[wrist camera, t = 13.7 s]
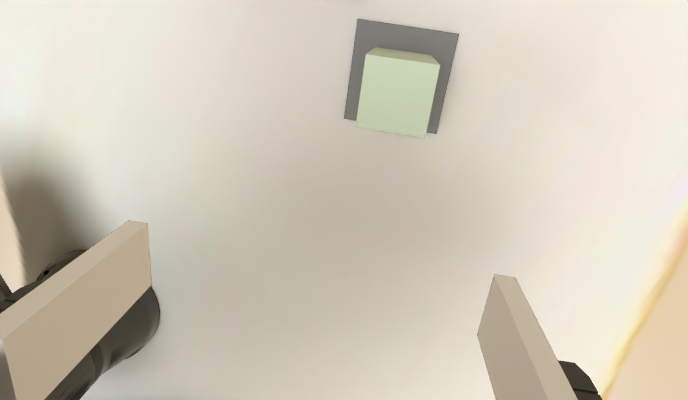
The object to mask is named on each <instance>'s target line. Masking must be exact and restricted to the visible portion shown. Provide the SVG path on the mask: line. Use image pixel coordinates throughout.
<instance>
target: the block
mask: <svg viewBox="0 0 688 400" xmlns="http://www.w3.org/2000/svg"><path fill="white" fill-rule="evenodd" d="M439 69H440V64H439V63H438V62H437V61H436V60H435V59H434V58H433V57H432V56H431V55H429V54H422V53H415V52H408V51H401V50H394V49H387V48H381V47H375V48H373V49H372V50H371V51H369V52H368V53H367V54H366V57H365V64H364V71H363V78H362V85H361V92H360V99H359V106H358V113H357V120H356V127H357V128H364V129H370V130H376V131H383V132H389V133H396V134H402V135H408V136H415V137H421V138H425V137H426V132H427V127H428V122H429V117H430V112H431V108H432V103H433V98H434V93H435V88H436V84H437V79H438V74H439Z"/></svg>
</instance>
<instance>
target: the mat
mask: <svg viewBox="0 0 688 400" xmlns="http://www.w3.org/2000/svg"><path fill="white" fill-rule="evenodd" d="M458 36H459V34H455V33H448V32H441V31H435V30H428V29H421V28H415V27H408V26H401V25H395V24H388V23H381V22H375V21H368V20H361V19H358V21H357V28H356V35H355V43H354V50H353V57H352V64H351V71H350V79H349V86H348V93H347V100H346V108H345V115H344V119H350V120H357V113H358V106H359V99H360V92H361V85H362V78H363V71H364V64H365V57H366V54H367V53H368V52H369V51H371V50H372V49H373V48H375V47H381V48H387V49H394V50H401V51H408V52H415V53H422V54H429V55H431V56H432V57H433V58H434V59H435V60H436V61H437V62H438V63H439V64H440V69H439V74H438V79H437V84H436V88H435V93H434V98H433V103H432V108H431V112H430V117H429V122H428V127H427V132H428V133H434V134H436V133H437V128H438V124H439V120H440V115H441V111H442V106H443V102H444V98H445V93H446V89H447V84H448V80H449V75H450V71H451V67H452V62H453V58H454V53H455V49H456V45H457V40H458Z"/></svg>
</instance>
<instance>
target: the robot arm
mask: <svg viewBox="0 0 688 400" xmlns="http://www.w3.org/2000/svg"><path fill="white" fill-rule="evenodd" d="M151 285H152V280H151V266H150V251H149V236H148V223H142V222H136V221H129V220H128V221H127V222H125V223H124V224H123V225H121V226H120V227H119V228H117V229H116V230H114V231H113V232H112V233H110V234H109V235H108V236H106V237H105V238H103V239H102V240H101V241H99V242H98V243H97V244H95V245H94V246H92V247H91V248H90V249H88V250H80V251H74V252H70V253H68V254H66V255H64V256H62V257H61V258H59V259H58V260H56V261H55V262H53V263H52V264H50V265H49V266H48V267H46V268H45V269H44V270H43V271H42V273H41V274H40V275H39V277H38V278H37V280H36V282H34V283H31V284H29V285H27V286H24V287H22V288H20V289H18V290H17V291H15V292H14V293H12V292H11V291H10V289H9V287H8V286H7V284H6V283H5V281H4V279H3V278H2V276H1V275H0V400H80V398H81V397H82V396H83V395H84V394H85V393H86V391H87V390H88V389H89V388H90V387H91V386H92V384H93V383H94V382H95V381H96V380H97V379H98V377H99V376H100V375H101V374H103V373H104V372H106V371H107V370H109V369H111V368H112V367H114V366H115V365H117V364H118V363H120V362H121V361H123V360H124V359H127V358H129V357H131V356H133V355H134V354H136V353H137V352H139V351H140V350H141V349H142V348H143V347H144V346H145V344H146V343H147V342H148V341H149V340H150V338H151V337H152V336H153V334H154V333H155V331H156V329H157V327H158V323H159V307H158V303H157V300H156V297H155V295H154V293H153V291H152V289H151V287H150V286H151ZM477 336H478V339H479V343H480V346H481V350H482V353H483V357H484V360H485V364H486V367H487V371H488V374H489V378H490V381H491V384H492V388H493V391H494V395H495V398H496V400H602V398H601V397H600V395H598V391H597V390H596V388H595V386H594V384H593V383H592V381H591V379H590V377H589V376H588V375H587V374H586V373H585V372H584V371H582V370H581V369H580V368H579V367H578V366H577V365H576V364H575V363H571V362H565V361H558V360H557V358H556V356H555V354H554V352H553V350H552V348H551V346H550V344H549V342H548V340H547V338H546V336H545V334H544V332H543V330H542V329H541V327H540V325H539V323H538V321H537V319H536V317H535V315H534V313H533V311H532V309H531V307H530V305H529V303H528V301H527V299H526V297H525V295H524V293H523V291H522V289H521V287H520V285H519V283H518V282H517V280H516V278H515V277H509V276H502V275H496V274H494V277H493V281H492V284H491V288H490V291H489V295H488V298H487V302H486V305H485V309H484V312H483V316H482V319H481V323H480V326H479V330H478V333H477Z"/></svg>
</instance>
